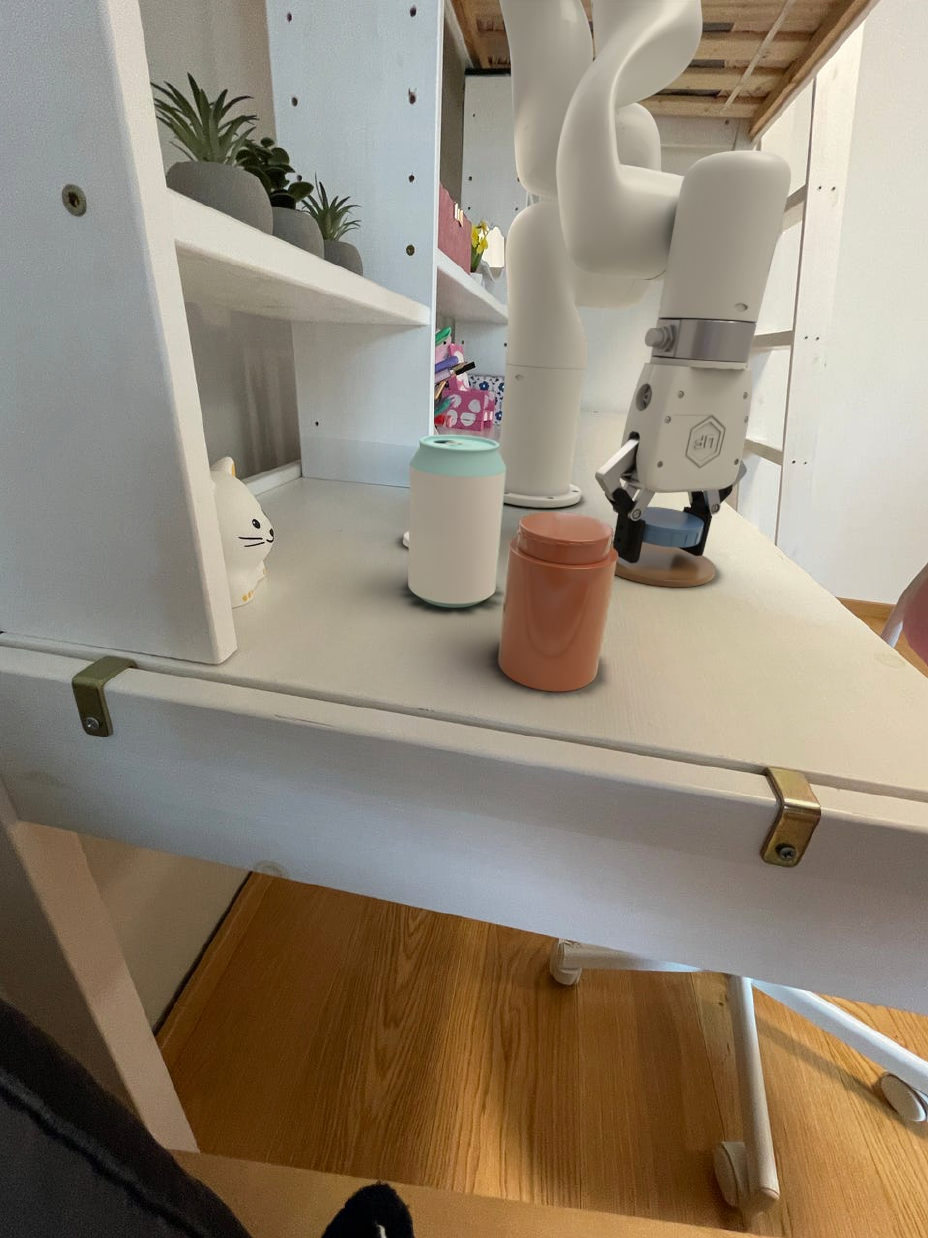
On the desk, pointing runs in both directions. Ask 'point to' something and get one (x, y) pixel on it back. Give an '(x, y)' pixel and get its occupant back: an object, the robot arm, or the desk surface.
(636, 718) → the desk surface
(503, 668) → the jar
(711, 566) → the coaster
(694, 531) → the lid
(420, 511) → the can
